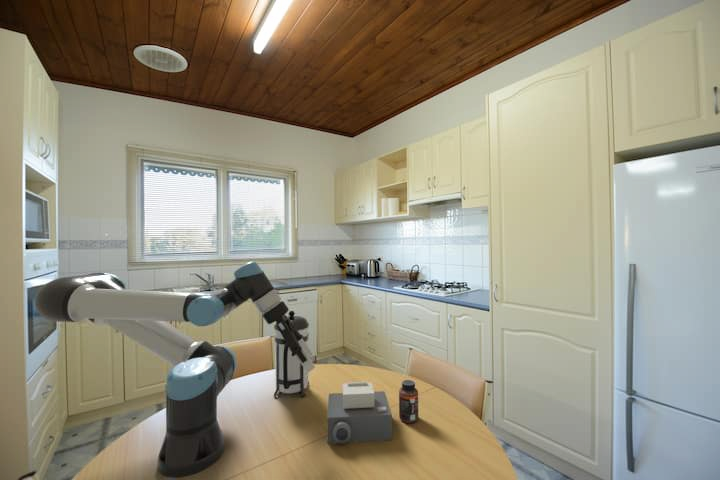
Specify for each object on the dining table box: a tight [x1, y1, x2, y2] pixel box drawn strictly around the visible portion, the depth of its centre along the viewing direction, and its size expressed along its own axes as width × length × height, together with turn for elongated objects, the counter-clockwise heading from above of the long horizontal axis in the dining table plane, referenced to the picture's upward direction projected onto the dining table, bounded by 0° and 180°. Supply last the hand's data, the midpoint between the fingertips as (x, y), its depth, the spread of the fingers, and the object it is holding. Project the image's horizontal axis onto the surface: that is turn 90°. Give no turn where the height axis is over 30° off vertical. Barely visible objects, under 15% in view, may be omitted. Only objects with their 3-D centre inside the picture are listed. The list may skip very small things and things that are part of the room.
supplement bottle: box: [398, 379, 419, 424], centre depth 97 cm, size 6×6×11 cm
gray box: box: [326, 390, 393, 444], centre depth 92 cm, size 18×16×8 cm
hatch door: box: [342, 381, 375, 409], centre depth 93 cm, size 9×7×5 cm
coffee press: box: [273, 310, 310, 399], centre depth 116 cm, size 17×16×30 cm
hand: (310, 363), depth 97 cm, fingers open, 13 cm apart
